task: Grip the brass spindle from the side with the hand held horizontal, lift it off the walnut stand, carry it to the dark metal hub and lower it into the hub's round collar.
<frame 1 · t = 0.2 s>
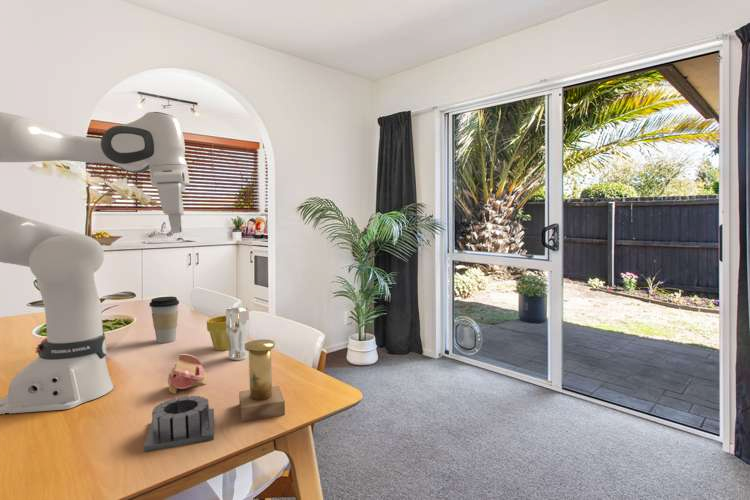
hand: (177, 232, 108), 39 cm above the table, tool pointing down, fingers open, 8 cm apart
plant pot: (224, 348, 140), on the table
spindle: (261, 396, 94), point 3 cm above the table, touching stand
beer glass: (238, 357, 130), on the table
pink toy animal: (189, 389, 107), on the table
hub: (182, 430, 85), on the table
coffee cup: (166, 341, 148), on the table
stand: (261, 409, 95), on the table
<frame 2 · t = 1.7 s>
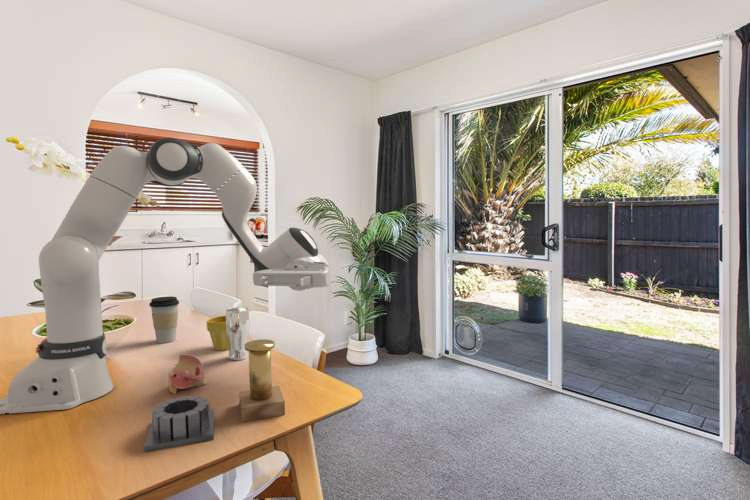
hand: (280, 282, 104), 27 cm above the table, tool horizontal, fingers open, 8 cm apart
nothing on the table moved.
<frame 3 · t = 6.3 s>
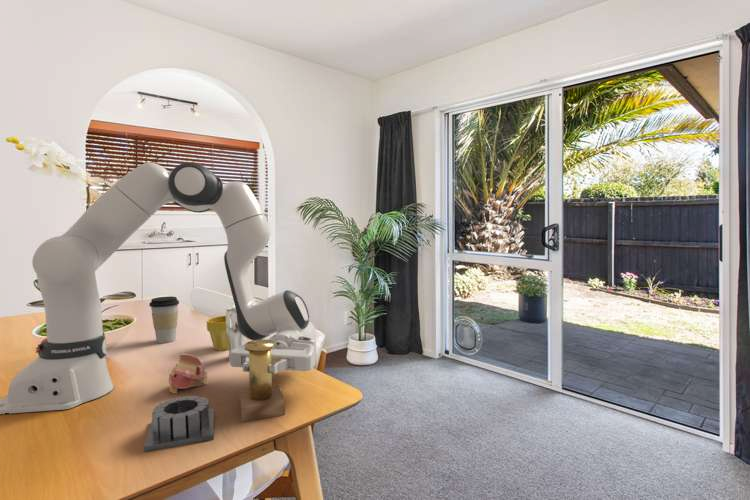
hand: (258, 369, 93), 10 cm above the table, tool horizontal, fingers closed on spindle, 5 cm apart
spindle: (261, 396, 94), point 3 cm above the table, touching gripper, stand
everything else where it was.
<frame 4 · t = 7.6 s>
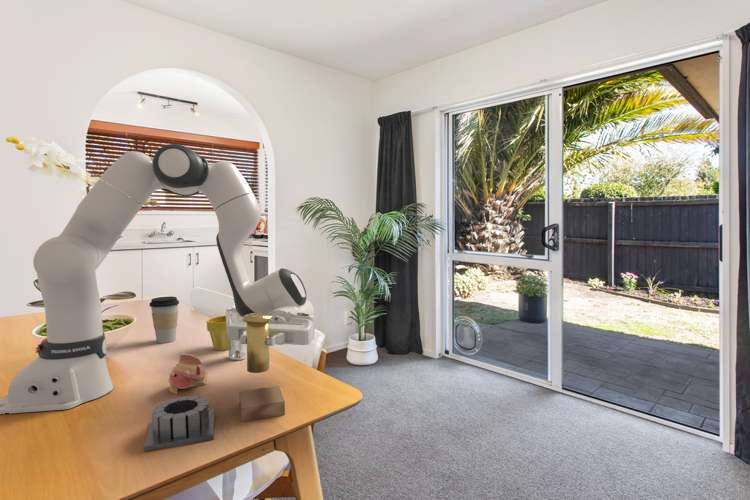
hand: (256, 341, 92), 16 cm above the table, tool horizontal, fingers closed on spindle, 5 cm apart
spindle: (258, 369, 94), point 9 cm above the table, touching gripper
everything else where it was.
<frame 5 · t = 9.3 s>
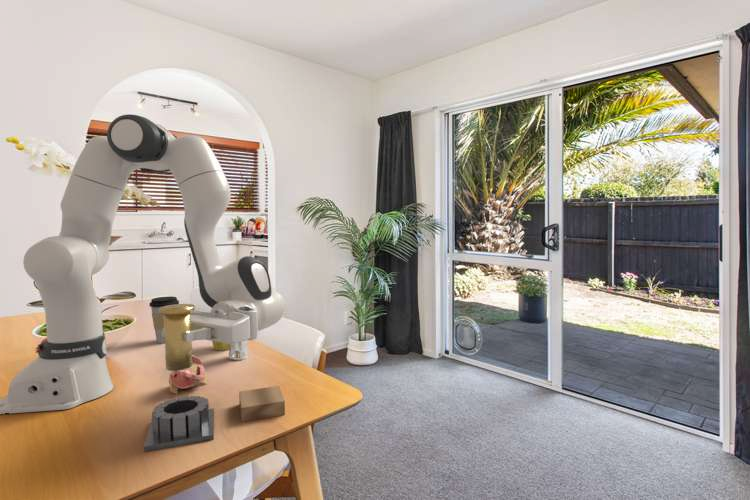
hand: (174, 335, 83), 20 cm above the table, tool horizontal, fingers closed on spindle, 5 cm apart
spindle: (179, 366, 84), point 13 cm above the table, touching gripper
everything else where it was.
when the fingers open (9 cm above the table, at t = 12.0 s): spindle drops 2 cm, resting on hub.
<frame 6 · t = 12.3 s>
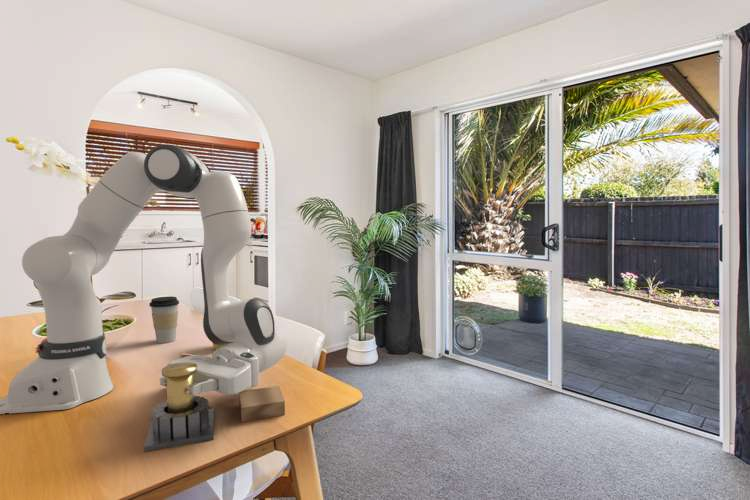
hand: (176, 386, 84), 9 cm above the table, tool horizontal, fingers open, 7 cm apart
spindle: (181, 425, 85), point 1 cm above the table, touching hub
everything else where it was.
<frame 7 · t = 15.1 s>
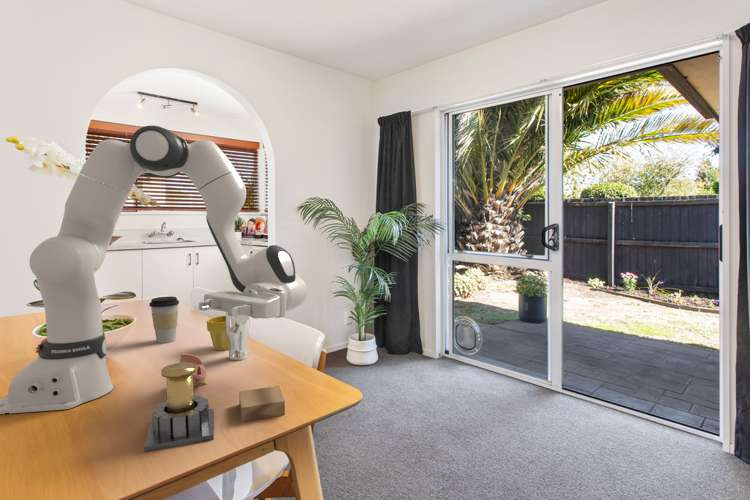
hand: (214, 309, 95), 22 cm above the table, tool horizontal, fingers open, 8 cm apart
nothing on the table moved.
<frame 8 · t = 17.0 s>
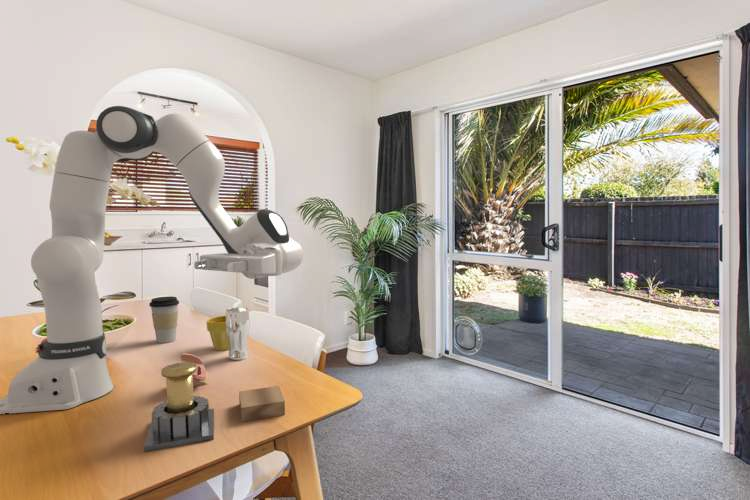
hand: (210, 266, 95), 32 cm above the table, tool horizontal, fingers open, 8 cm apart
nothing on the table moved.
at the end: spindle 0.0 cm off-centre on the hub, point 1.0 cm above the hub's base; spindle tilted 0°; the gripper is holding nothing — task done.
